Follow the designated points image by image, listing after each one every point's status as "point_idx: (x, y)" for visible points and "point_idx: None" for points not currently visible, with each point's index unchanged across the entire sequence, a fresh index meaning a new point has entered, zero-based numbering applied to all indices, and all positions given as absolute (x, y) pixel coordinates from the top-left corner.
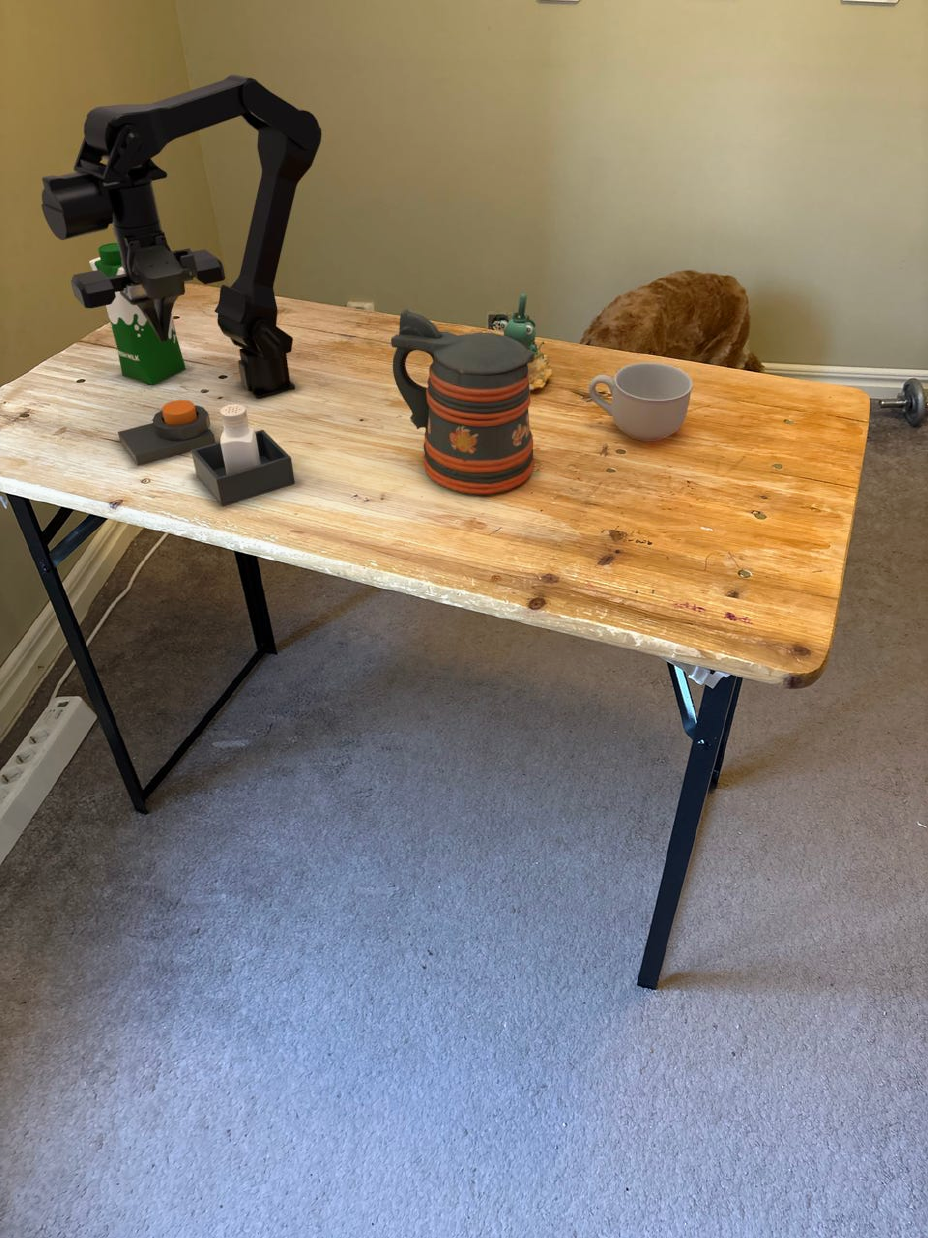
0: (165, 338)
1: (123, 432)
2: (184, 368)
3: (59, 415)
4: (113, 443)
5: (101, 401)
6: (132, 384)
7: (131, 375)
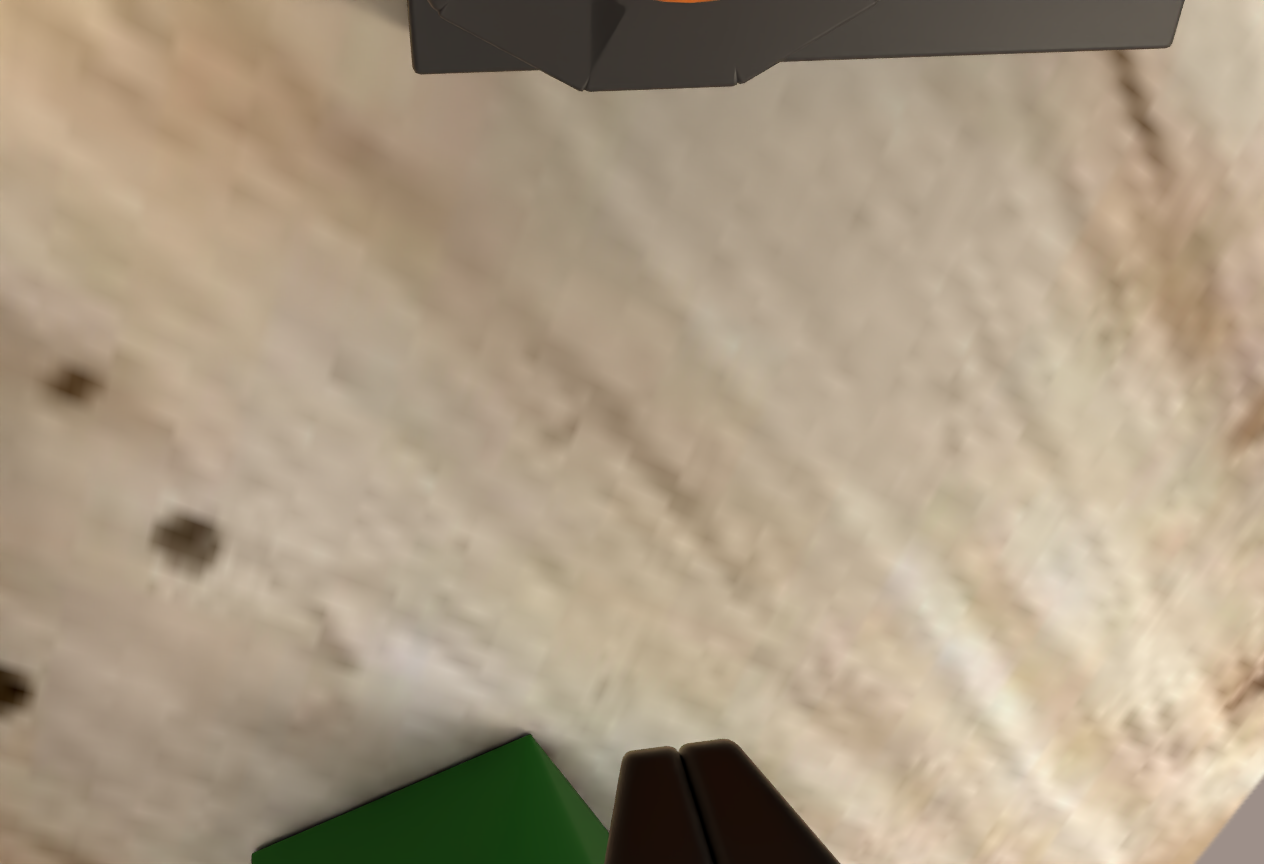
0: (667, 783)
1: (1144, 4)
2: (262, 855)
3: (1163, 595)
4: None
5: (888, 662)
6: None
7: None
